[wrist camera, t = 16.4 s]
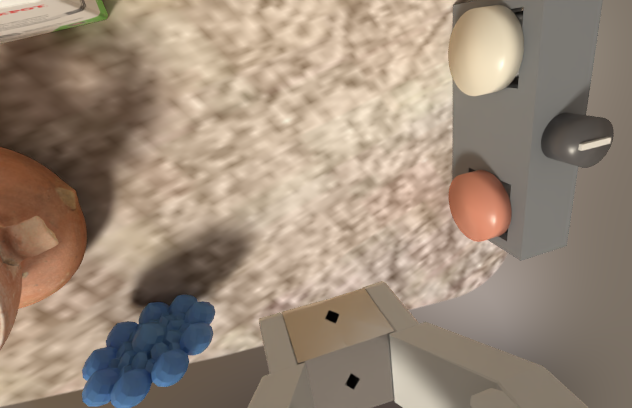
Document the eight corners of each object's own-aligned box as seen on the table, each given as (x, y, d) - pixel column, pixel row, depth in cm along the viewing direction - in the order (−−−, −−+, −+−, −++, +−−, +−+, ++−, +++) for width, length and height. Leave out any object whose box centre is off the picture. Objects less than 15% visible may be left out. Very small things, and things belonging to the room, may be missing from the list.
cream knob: (448, 13, 34) (505, 2, 28) (520, 1, 36) (590, -11, 29) (448, 93, 37) (500, 99, 30) (515, 79, 38) (578, 82, 32)
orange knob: (448, 166, 40) (495, 186, 34) (510, 150, 42) (567, 167, 35) (448, 224, 43) (491, 253, 36) (506, 208, 44) (558, 233, 38)
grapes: (119, 354, 40) (87, 463, 29) (92, 306, 37) (46, 406, 26) (225, 318, 42) (232, 408, 31) (207, 270, 39) (207, 349, 28)
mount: (453, 5, 36) (545, -16, 26) (500, -2, 37) (606, -25, 28) (452, 217, 46) (520, 260, 36) (490, 206, 47) (566, 246, 37)
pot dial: (543, 117, 31) (579, 123, 28) (582, 108, 31) (621, 113, 28) (538, 163, 32) (572, 173, 29) (575, 153, 33) (612, 162, 30)
